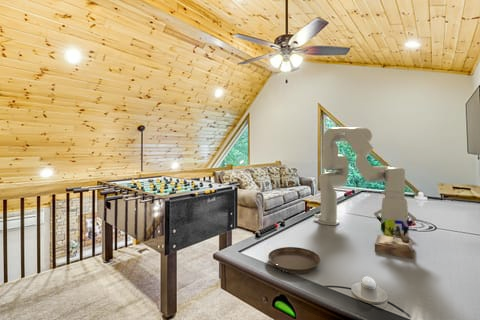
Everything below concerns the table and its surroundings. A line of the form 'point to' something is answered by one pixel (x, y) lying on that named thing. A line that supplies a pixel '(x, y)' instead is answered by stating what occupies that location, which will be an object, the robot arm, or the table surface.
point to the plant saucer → (294, 259)
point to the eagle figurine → (398, 234)
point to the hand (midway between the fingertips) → (394, 232)
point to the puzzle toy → (393, 224)
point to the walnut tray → (393, 246)
